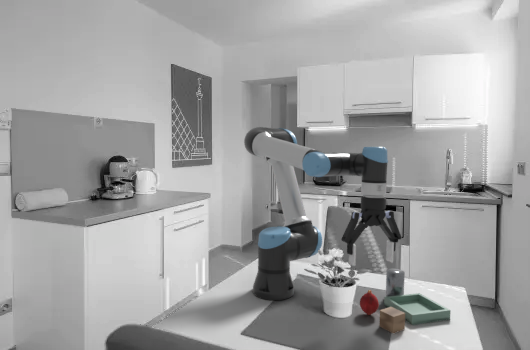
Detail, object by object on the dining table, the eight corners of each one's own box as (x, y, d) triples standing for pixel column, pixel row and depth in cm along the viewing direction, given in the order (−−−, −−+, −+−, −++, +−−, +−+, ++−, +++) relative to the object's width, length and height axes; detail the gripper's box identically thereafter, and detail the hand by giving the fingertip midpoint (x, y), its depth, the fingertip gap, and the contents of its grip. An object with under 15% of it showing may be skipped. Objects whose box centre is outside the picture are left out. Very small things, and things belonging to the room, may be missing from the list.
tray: (384, 305, 119) (384, 296, 119) (418, 301, 123) (419, 293, 123) (412, 324, 106) (412, 315, 105) (450, 319, 109) (450, 310, 109)
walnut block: (379, 326, 105) (379, 310, 104) (390, 322, 107) (391, 306, 107) (393, 334, 100) (393, 316, 100) (404, 329, 103) (405, 313, 103)
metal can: (382, 296, 127) (383, 269, 126) (396, 294, 129) (397, 268, 128) (392, 303, 121) (393, 274, 121) (407, 301, 123) (408, 273, 122)
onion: (379, 320, 108) (380, 294, 108) (360, 318, 110) (360, 293, 109) (377, 312, 114) (378, 287, 114) (358, 310, 115) (359, 286, 115)
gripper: (343, 198, 103) (341, 269, 104) (415, 196, 110) (412, 263, 111) (331, 195, 110) (329, 262, 111) (399, 194, 117) (397, 256, 118)
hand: (371, 263), depth 111 cm, fingers open, 13 cm apart
